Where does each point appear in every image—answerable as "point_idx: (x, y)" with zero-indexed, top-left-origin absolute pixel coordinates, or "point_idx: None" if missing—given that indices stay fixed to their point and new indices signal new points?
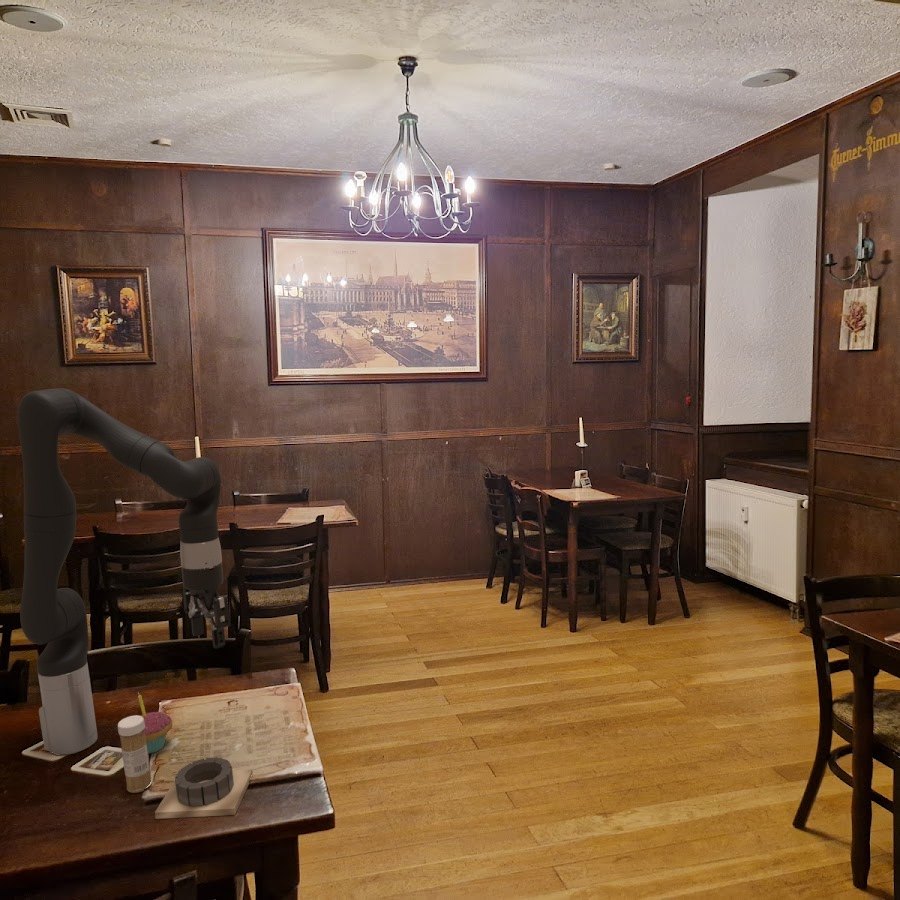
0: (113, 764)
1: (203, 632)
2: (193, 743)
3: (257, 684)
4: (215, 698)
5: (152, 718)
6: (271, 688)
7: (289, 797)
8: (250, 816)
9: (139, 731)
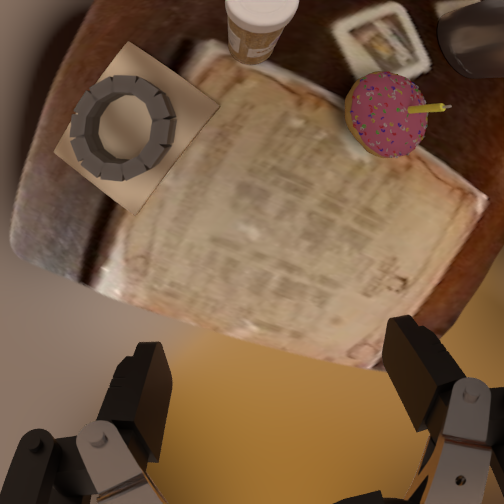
0: (363, 44)
1: (384, 361)
2: (326, 173)
3: None
4: (432, 268)
5: (387, 115)
6: None
7: (53, 232)
8: (44, 169)
9: (227, 12)
